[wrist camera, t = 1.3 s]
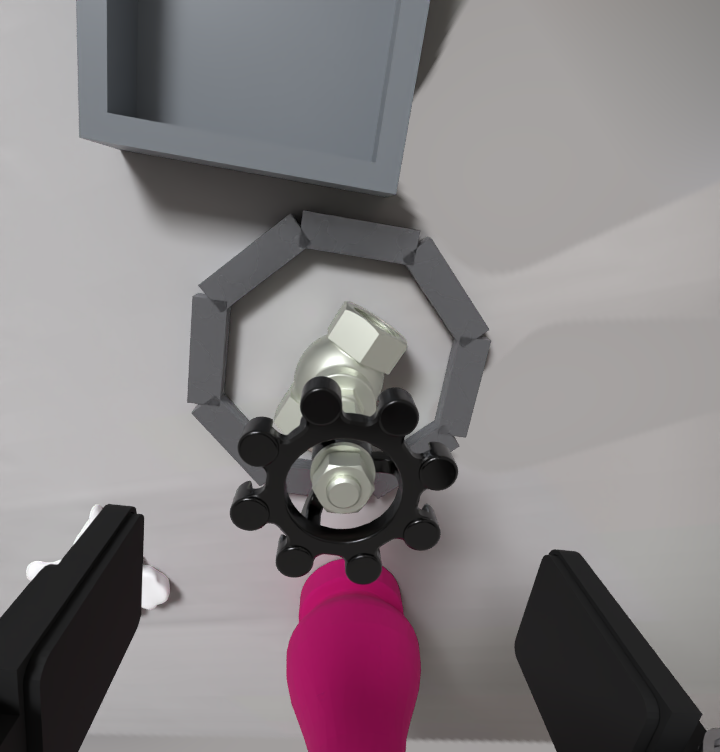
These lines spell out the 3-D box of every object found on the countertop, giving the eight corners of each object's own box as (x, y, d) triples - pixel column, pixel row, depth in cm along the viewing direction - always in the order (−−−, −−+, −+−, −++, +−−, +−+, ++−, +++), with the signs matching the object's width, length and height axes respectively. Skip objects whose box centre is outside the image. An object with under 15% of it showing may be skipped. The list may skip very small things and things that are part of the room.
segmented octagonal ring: (203, 193, 21) (197, 192, 21) (508, 245, 23) (515, 246, 22) (188, 471, 26) (183, 481, 25) (443, 499, 28) (447, 510, 27)
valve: (251, 384, 25) (183, 529, 13) (317, 277, 23) (302, 338, 12) (356, 443, 26) (376, 619, 15) (425, 346, 24) (506, 460, 13)
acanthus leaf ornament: (102, 495, 27) (86, 515, 25) (191, 566, 29) (183, 589, 27) (18, 569, 28) (-3, 593, 26) (109, 632, 30) (96, 658, 28)
